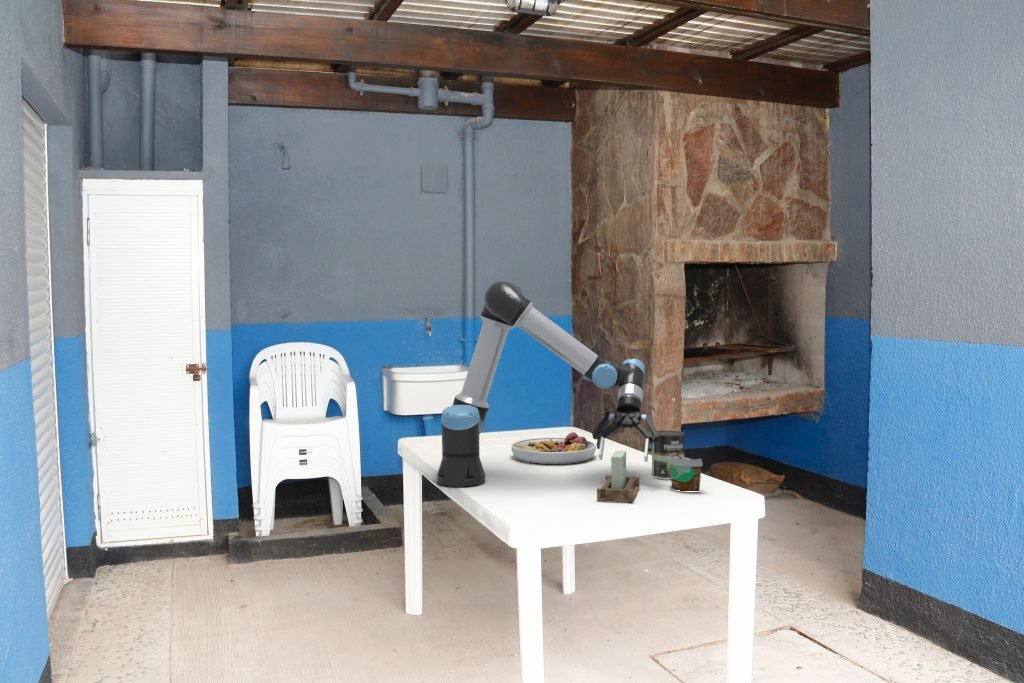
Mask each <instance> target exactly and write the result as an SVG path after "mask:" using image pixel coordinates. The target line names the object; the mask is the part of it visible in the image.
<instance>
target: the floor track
mask: <svg viewBox="0 0 1024 683" xmlns="http://www.w3.org/2000/svg"><path fill="white" fill-rule="evenodd" d="M640 479H641V478H640V477H639V476H626V486H625V488H624V489H611V475H605V482H604V483H603V485H602V486H601V487H597V488H596V502H600V501H616V502H615V503H619V502H633V503H634V501H635V500H636V497H637V495H638V493H639V491H640V489H639V488H641V487H640V484H641V482H640ZM638 490H639V491H638ZM637 492H638V493H637ZM636 494H637V495H636Z"/></svg>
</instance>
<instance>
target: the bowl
mask: <svg viewBox="0 0 1024 683" xmlns="http://www.w3.org/2000/svg"><path fill="white" fill-rule="evenodd" d="M596 450H597V443H595V442H592V441H590V440H587V438H586V437H585V436H579V435H578V433H577V432H575V431H574V432H570V433H568V434H567V435H566V437H541V438H540V437H538V438H530V439H522V440H518V441H515V442H513V443H512V444H511V452H512V454H513V456H514V457H515V458H516V459H518V460H519V461H521V460H522V462H524V461H525V463H528V462H531V463H530V464H534V463H539V464H538V465H545V464H563V465H572V463H574V464H579V462H580V463H583V461H584V462H586V461H588V460H591V458H592V457H593V456H594V455H595V453H596Z"/></svg>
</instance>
